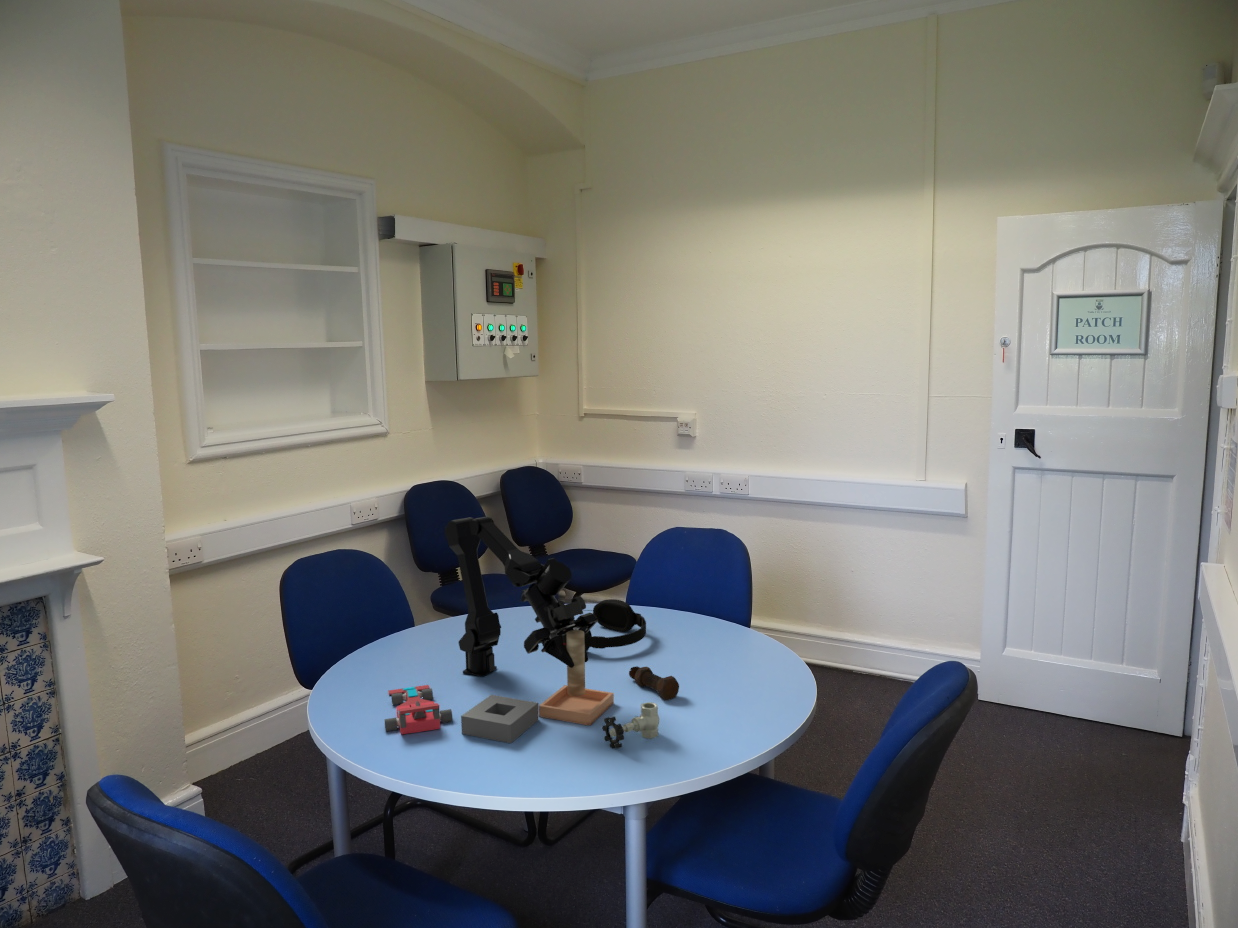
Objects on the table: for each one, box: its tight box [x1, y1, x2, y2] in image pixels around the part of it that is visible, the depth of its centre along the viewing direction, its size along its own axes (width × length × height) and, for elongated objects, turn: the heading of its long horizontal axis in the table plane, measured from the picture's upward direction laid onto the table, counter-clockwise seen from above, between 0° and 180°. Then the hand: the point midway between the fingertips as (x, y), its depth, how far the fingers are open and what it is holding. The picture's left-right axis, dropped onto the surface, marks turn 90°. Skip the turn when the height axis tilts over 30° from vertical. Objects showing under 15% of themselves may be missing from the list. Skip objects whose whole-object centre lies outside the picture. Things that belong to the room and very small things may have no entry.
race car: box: [384, 684, 453, 735], centre depth 191 cm, size 14×6×25 cm
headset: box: [562, 598, 647, 652], centre depth 236 cm, size 28×26×9 cm
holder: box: [460, 694, 539, 744], centre depth 181 cm, size 12×12×4 cm
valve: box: [601, 701, 660, 749], centre depth 174 cm, size 7×7×12 cm
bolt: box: [628, 666, 680, 701], centre depth 201 cm, size 6×5×15 cm
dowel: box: [566, 630, 586, 696], centre depth 188 cm, size 4×4×14 cm
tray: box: [538, 684, 615, 726], centre depth 190 cm, size 13×13×2 cm
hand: (580, 664), depth 188 cm, fingers closed on dowel, 4 cm apart
